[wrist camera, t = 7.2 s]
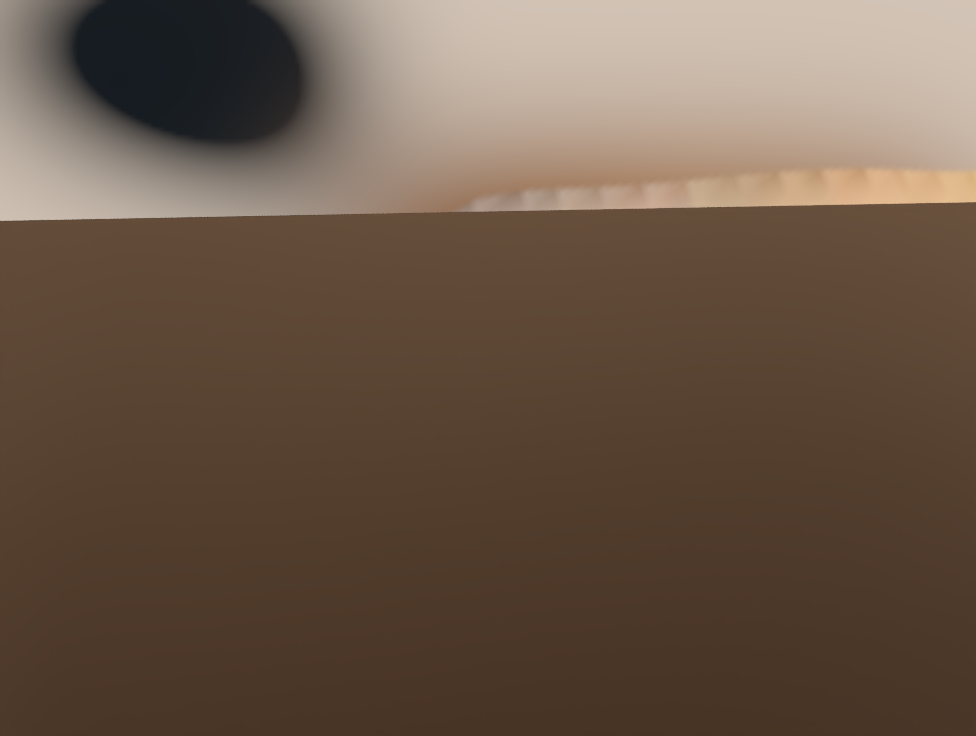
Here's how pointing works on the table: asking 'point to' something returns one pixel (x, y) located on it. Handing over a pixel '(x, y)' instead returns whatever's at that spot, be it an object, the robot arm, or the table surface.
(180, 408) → the walnut post
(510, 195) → the table surface
